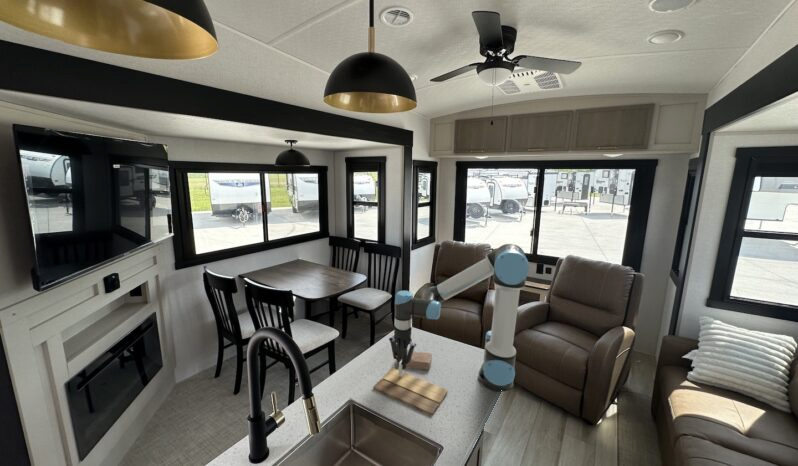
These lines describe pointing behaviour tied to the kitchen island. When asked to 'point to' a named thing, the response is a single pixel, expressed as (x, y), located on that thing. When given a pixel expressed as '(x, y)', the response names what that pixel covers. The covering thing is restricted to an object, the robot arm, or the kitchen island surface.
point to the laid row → (406, 397)
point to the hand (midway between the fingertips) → (401, 374)
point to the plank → (416, 385)
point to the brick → (420, 360)
